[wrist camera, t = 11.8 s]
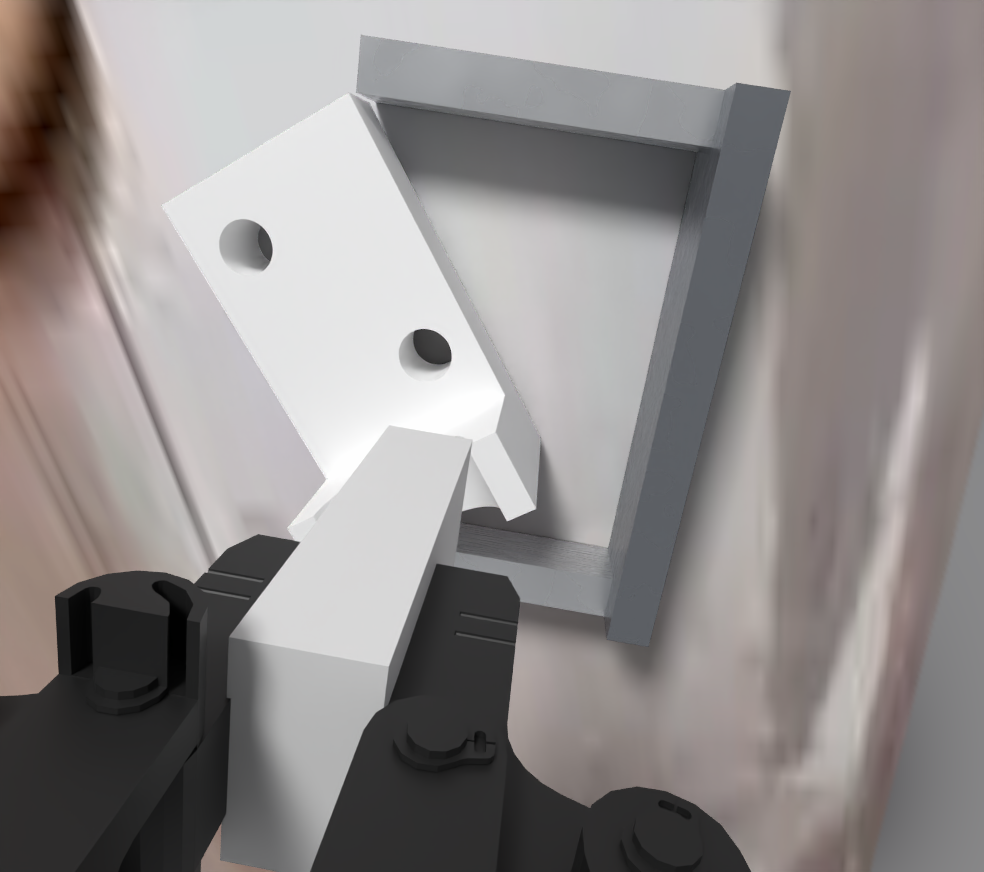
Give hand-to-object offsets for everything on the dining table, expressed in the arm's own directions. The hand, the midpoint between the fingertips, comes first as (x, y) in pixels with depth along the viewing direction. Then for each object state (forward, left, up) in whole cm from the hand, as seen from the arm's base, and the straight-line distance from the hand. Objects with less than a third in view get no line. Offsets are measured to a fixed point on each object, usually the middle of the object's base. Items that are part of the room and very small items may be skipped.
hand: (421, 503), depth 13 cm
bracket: (-4, 0, -15) cm, 16 cm away
